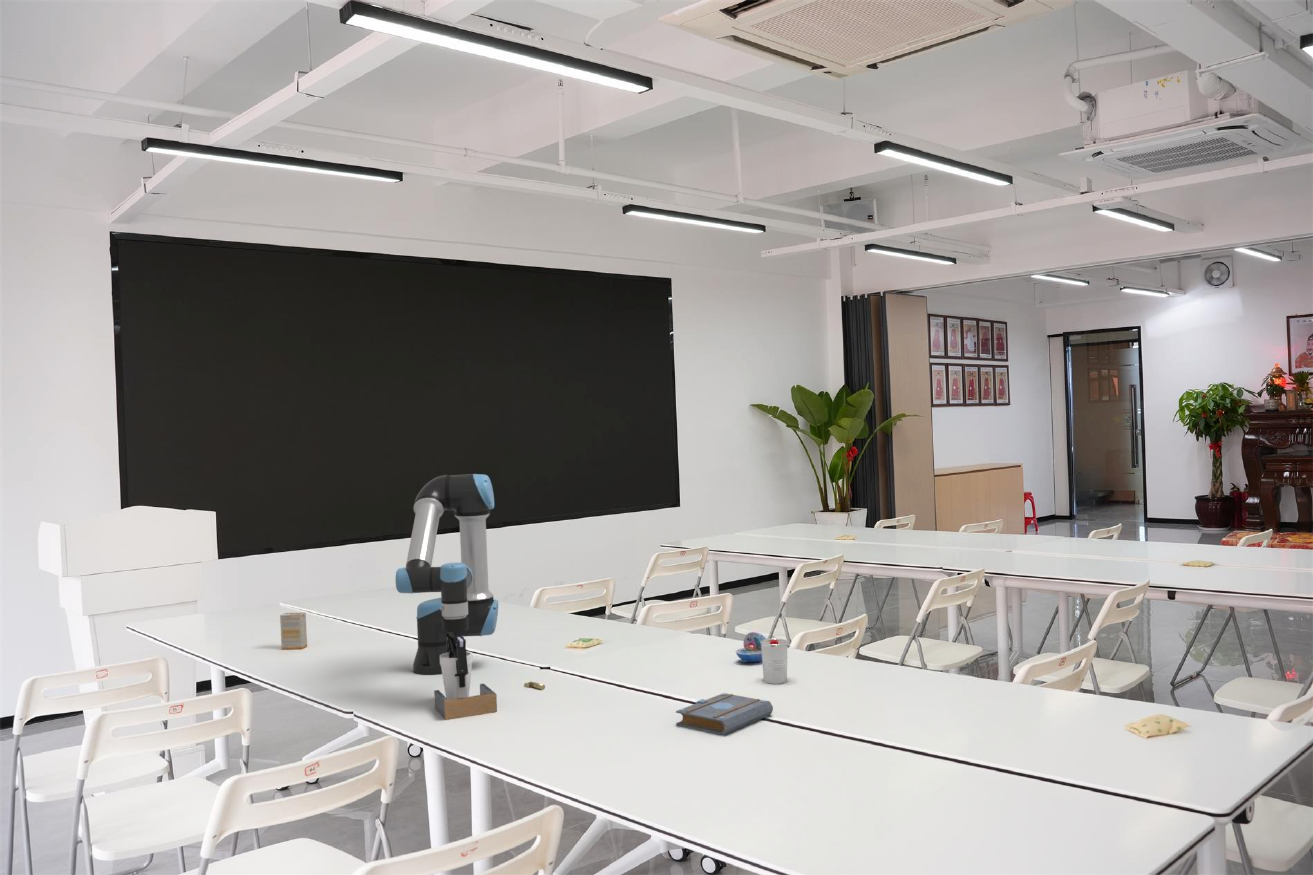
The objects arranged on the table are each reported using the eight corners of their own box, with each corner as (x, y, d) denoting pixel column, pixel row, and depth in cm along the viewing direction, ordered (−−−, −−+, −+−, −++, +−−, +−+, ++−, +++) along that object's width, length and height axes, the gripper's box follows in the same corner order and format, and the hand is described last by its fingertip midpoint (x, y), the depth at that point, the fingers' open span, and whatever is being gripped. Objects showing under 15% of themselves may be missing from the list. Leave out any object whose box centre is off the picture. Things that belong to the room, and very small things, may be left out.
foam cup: (445, 705, 275) (444, 660, 275) (437, 698, 283) (435, 654, 283) (478, 700, 279) (476, 655, 279) (468, 693, 287) (467, 649, 287)
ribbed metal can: (795, 678, 296) (794, 639, 296) (787, 685, 288) (785, 645, 288) (764, 676, 300) (762, 637, 300) (755, 683, 292) (753, 643, 292)
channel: (434, 708, 276) (434, 690, 276) (484, 700, 282) (483, 683, 282) (445, 719, 264) (445, 701, 264) (497, 711, 270) (496, 693, 270)
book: (726, 737, 242) (725, 717, 242) (675, 726, 253) (674, 707, 253) (773, 717, 258) (772, 698, 258) (723, 707, 269) (722, 689, 269)
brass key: (524, 686, 297) (524, 681, 297) (530, 685, 299) (530, 679, 299) (539, 690, 292) (539, 685, 292) (546, 689, 294) (545, 683, 294)
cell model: (729, 663, 319) (728, 634, 319) (752, 656, 327) (751, 628, 327) (752, 667, 312) (751, 637, 312) (775, 660, 320) (774, 631, 320)
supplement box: (307, 646, 368) (306, 612, 368) (301, 649, 363) (300, 614, 363) (286, 646, 368) (285, 612, 368) (280, 649, 364) (279, 614, 364)
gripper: (433, 612, 289) (436, 687, 289) (451, 624, 270) (453, 705, 270) (458, 609, 293) (461, 684, 293) (477, 621, 273) (480, 701, 273)
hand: (457, 694), depth 281 cm, fingers closed on foam cup, 9 cm apart
